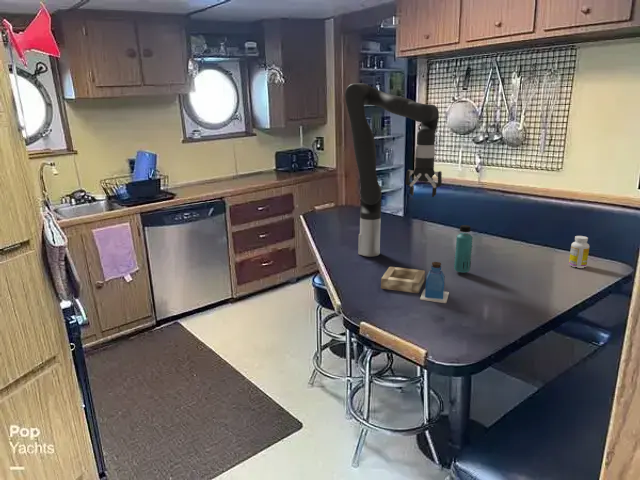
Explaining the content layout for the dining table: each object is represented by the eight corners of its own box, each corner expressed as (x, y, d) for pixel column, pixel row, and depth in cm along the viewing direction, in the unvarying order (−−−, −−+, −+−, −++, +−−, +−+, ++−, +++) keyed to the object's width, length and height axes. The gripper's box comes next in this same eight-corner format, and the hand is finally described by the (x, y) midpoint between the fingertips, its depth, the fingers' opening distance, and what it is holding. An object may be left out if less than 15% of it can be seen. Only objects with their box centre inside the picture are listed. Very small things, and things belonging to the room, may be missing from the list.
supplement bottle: (585, 265, 197) (590, 236, 193) (586, 270, 191) (591, 240, 188) (567, 263, 200) (572, 234, 196) (568, 267, 194) (573, 238, 190)
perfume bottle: (443, 299, 162) (445, 266, 159) (425, 297, 164) (426, 265, 161) (443, 292, 168) (445, 261, 165) (426, 290, 170) (428, 259, 166)
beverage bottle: (461, 277, 184) (465, 228, 179) (449, 272, 190) (453, 224, 184) (473, 274, 187) (477, 226, 182) (461, 269, 193) (465, 223, 187)
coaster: (420, 299, 164) (420, 298, 163) (424, 290, 172) (424, 288, 171) (446, 303, 160) (446, 301, 160) (449, 293, 168) (449, 292, 168)
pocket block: (380, 288, 174) (381, 278, 173) (389, 275, 186) (389, 266, 185) (418, 293, 169) (419, 283, 168) (424, 280, 182) (425, 270, 180)
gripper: (405, 156, 185) (403, 196, 189) (441, 157, 180) (439, 198, 184) (408, 154, 191) (407, 193, 196) (444, 155, 186) (441, 195, 191)
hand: (422, 196), depth 190 cm, fingers open, 8 cm apart
